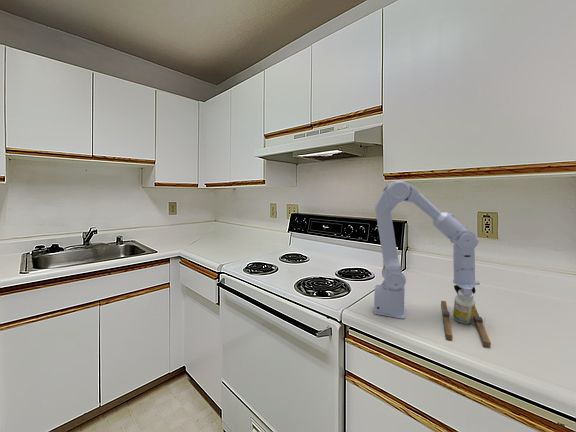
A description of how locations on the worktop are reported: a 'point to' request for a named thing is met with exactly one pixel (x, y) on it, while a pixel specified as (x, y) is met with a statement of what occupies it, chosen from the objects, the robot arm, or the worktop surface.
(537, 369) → the worktop surface
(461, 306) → the supplement bottle
